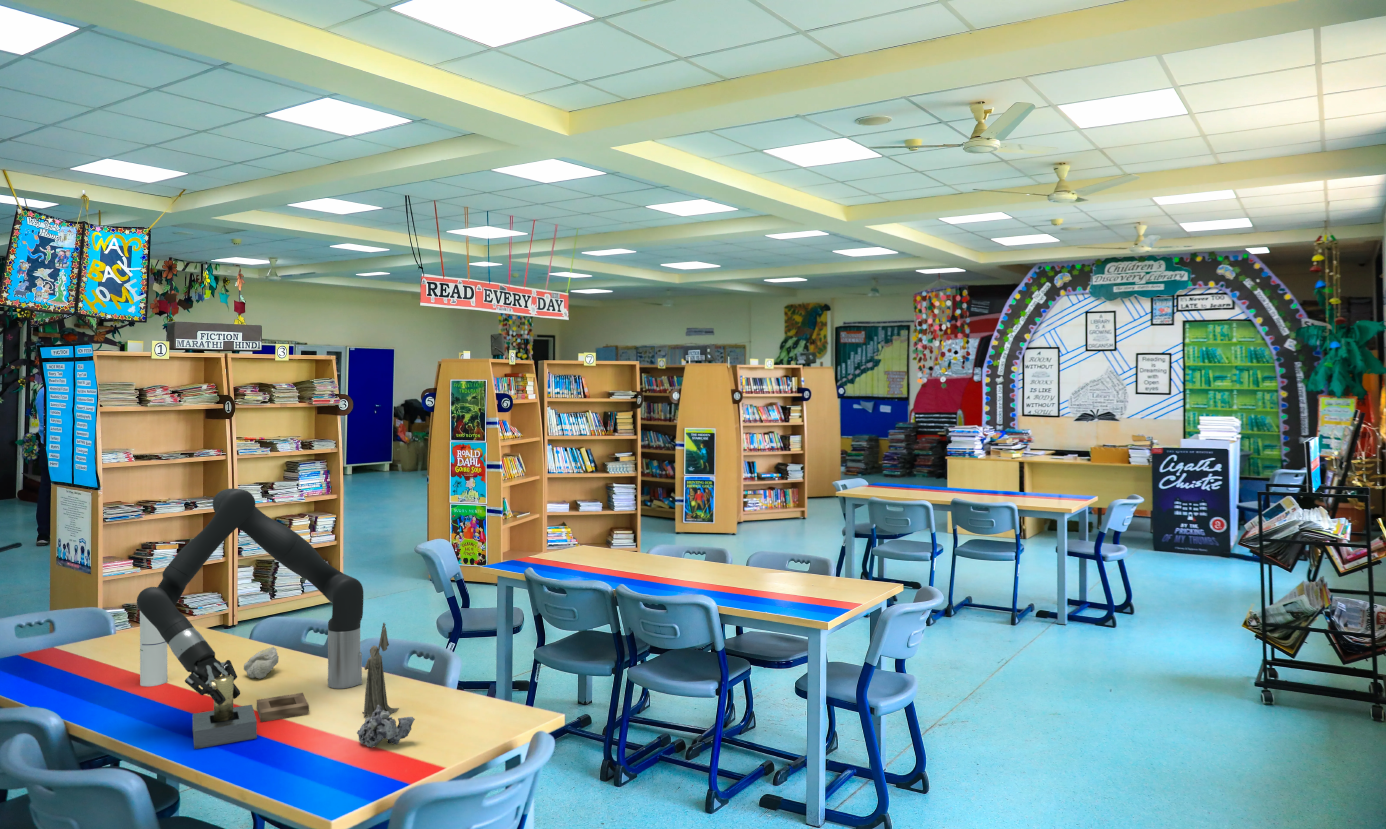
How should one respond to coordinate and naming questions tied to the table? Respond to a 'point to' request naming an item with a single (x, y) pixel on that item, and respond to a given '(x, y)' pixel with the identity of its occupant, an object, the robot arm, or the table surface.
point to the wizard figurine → (376, 679)
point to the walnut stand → (282, 707)
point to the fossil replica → (261, 663)
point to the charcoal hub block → (224, 727)
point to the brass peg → (226, 688)
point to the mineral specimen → (383, 728)
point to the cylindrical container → (152, 654)
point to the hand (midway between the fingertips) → (230, 699)
